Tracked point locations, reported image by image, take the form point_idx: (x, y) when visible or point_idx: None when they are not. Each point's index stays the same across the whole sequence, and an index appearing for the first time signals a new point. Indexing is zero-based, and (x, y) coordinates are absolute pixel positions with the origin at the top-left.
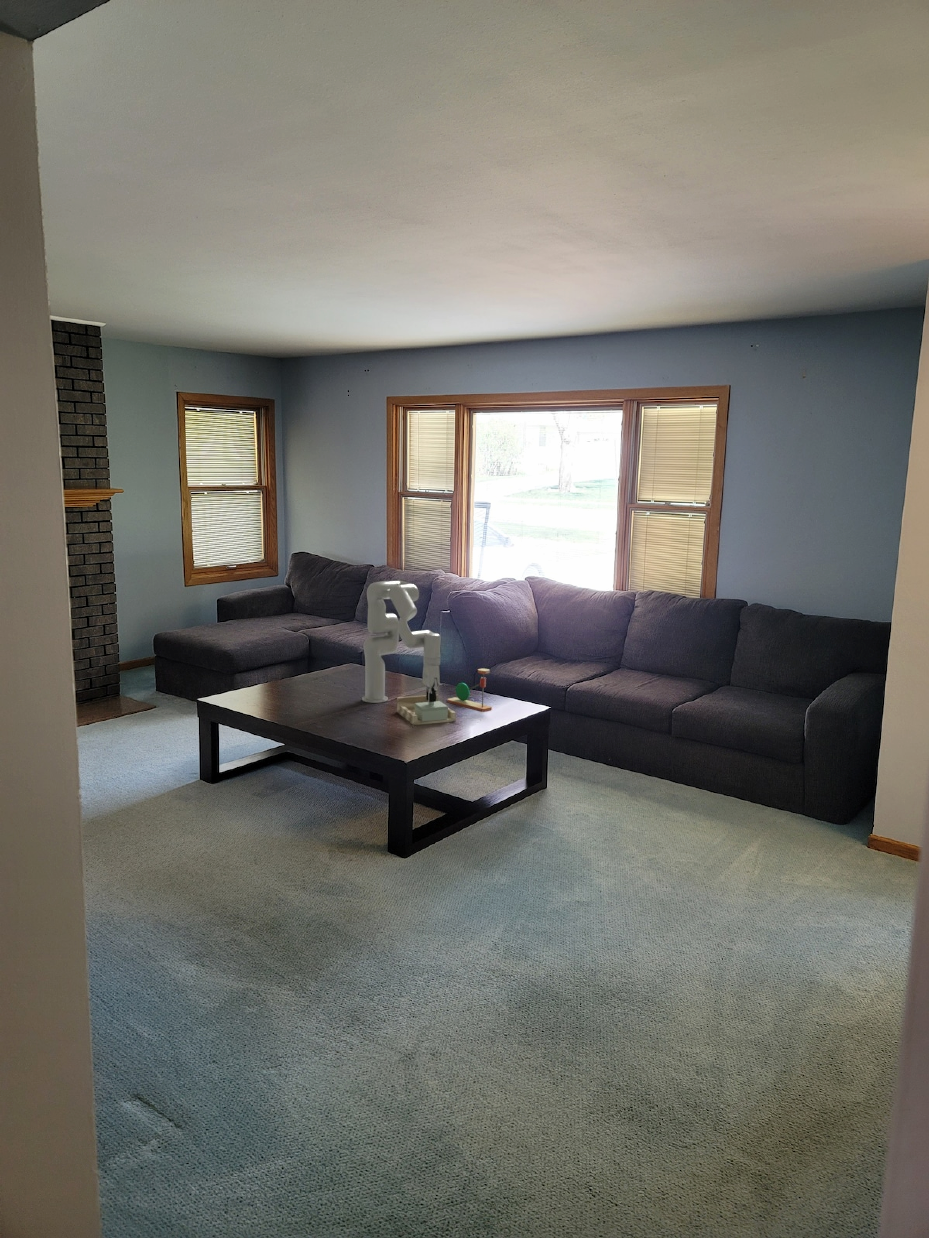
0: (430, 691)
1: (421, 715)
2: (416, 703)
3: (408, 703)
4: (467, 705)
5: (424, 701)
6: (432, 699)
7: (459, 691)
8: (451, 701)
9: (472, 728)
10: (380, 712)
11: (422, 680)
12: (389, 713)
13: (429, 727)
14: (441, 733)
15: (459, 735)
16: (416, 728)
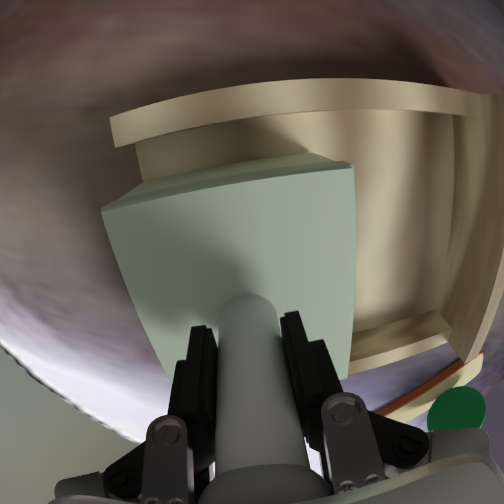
0: (180, 441)
1: (150, 186)
2: (333, 182)
3: (482, 168)
4: (394, 408)
5: (470, 276)
6: (178, 369)
7: (467, 406)
8: (462, 363)
9: (95, 383)
10: (453, 17)
11: (492, 485)
12: (437, 45)
13: (81, 214)
14: (6, 257)
15: (5, 317)
16: (66, 132)
